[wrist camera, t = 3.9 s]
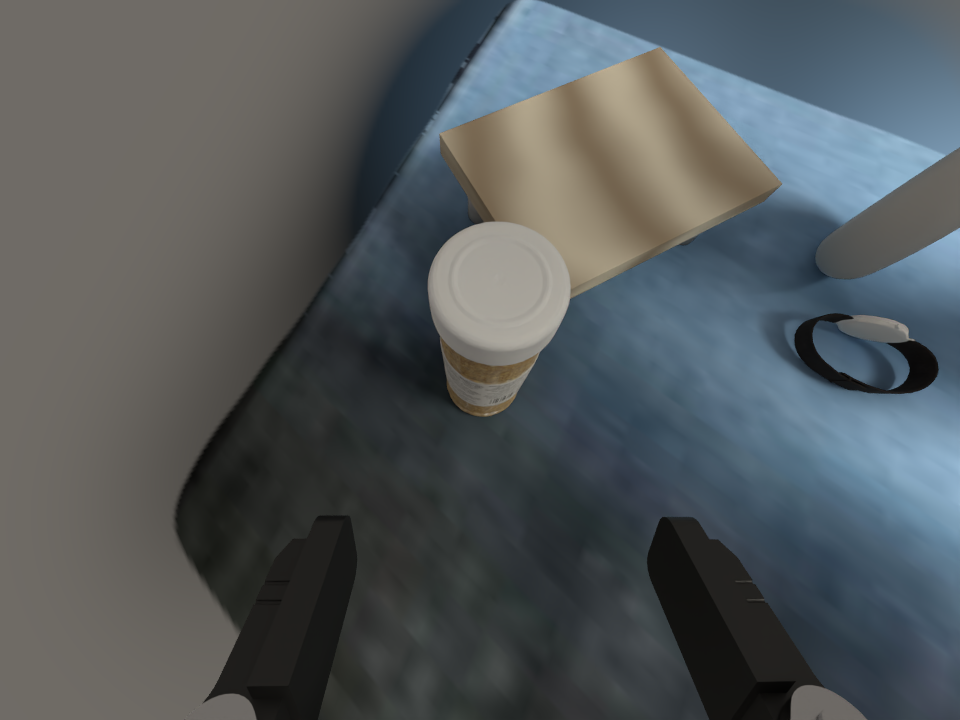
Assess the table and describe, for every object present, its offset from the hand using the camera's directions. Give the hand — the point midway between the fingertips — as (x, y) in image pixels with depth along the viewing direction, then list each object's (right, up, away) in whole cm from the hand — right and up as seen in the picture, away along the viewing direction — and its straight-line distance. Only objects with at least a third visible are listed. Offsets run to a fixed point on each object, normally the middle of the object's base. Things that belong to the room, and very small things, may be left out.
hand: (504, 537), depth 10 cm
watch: (+24, +5, +16) cm, 29 cm away
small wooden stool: (+7, +15, +18) cm, 24 cm away
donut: (+25, +12, +19) cm, 33 cm away
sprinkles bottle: (-1, +3, +15) cm, 15 cm away
